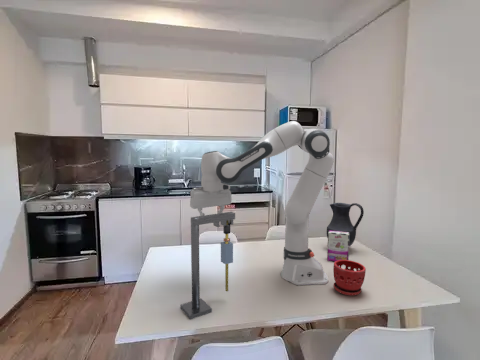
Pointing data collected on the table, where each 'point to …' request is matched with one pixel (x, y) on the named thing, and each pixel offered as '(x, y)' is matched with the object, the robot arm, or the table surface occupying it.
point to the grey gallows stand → (197, 304)
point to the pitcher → (344, 220)
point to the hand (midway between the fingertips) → (211, 215)
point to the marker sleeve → (226, 252)
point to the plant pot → (348, 277)
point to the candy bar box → (338, 246)
